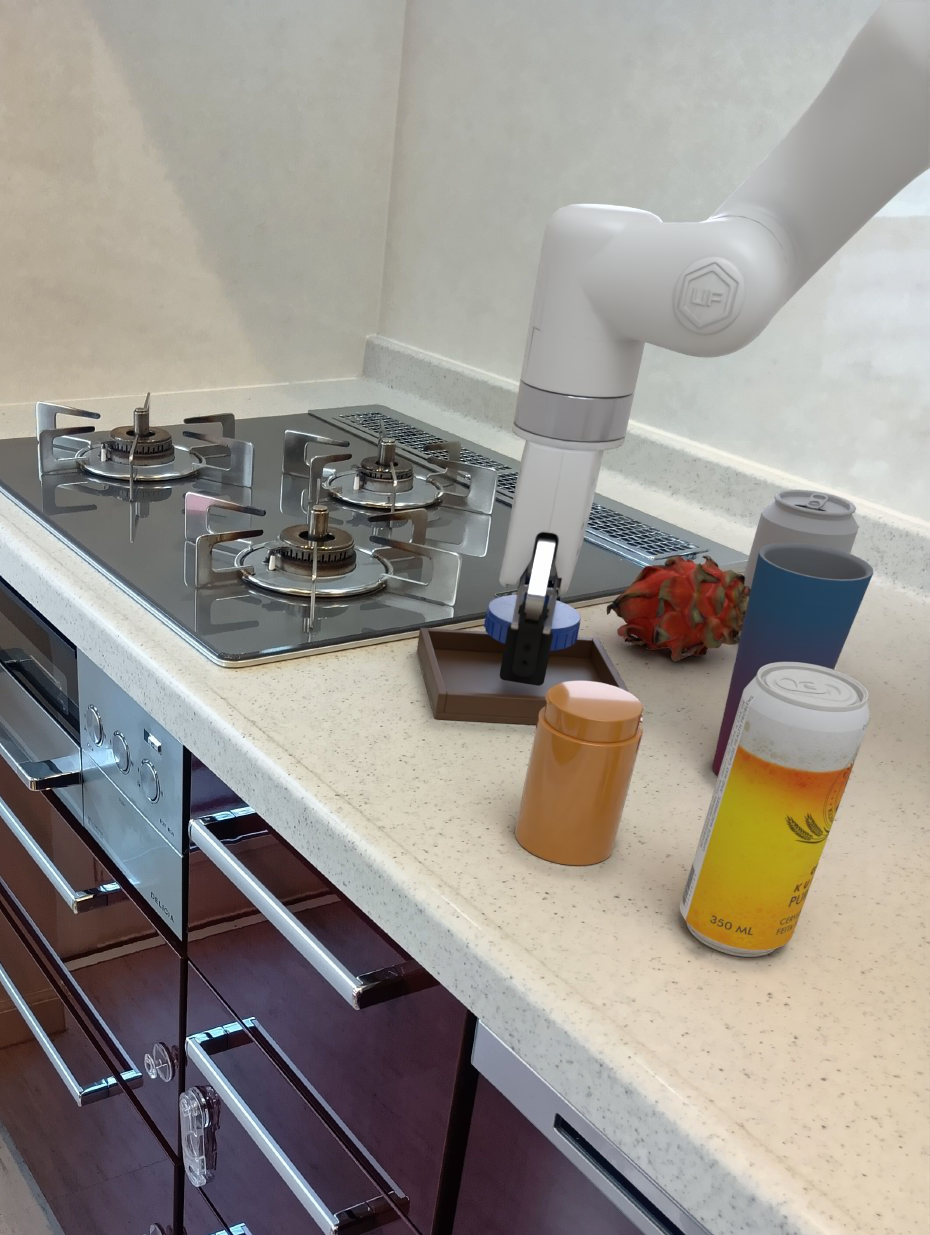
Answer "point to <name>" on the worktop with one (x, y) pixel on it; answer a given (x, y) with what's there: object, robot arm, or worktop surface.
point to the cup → (794, 615)
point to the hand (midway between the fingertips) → (525, 660)
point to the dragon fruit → (683, 607)
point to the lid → (562, 623)
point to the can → (804, 524)
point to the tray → (471, 680)
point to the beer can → (773, 806)
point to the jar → (579, 772)
